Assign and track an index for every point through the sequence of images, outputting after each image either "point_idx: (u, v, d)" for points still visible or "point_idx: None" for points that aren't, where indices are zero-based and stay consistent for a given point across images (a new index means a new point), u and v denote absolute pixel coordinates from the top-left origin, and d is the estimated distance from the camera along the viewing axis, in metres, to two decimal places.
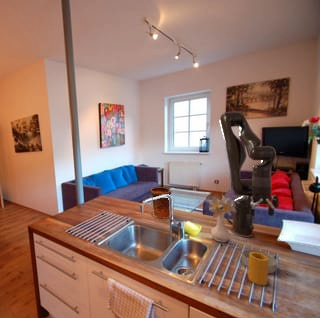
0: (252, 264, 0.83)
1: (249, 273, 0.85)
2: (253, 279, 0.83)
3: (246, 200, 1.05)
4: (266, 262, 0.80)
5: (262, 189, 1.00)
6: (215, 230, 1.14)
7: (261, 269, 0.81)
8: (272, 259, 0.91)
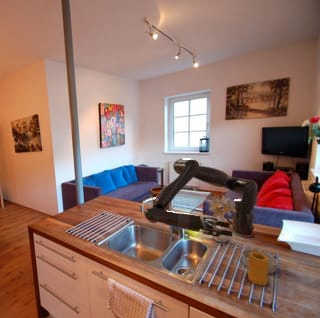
0: (252, 264, 0.83)
1: (249, 273, 0.85)
2: (253, 279, 0.83)
3: None
4: (266, 262, 0.80)
5: None
6: None
7: (261, 269, 0.81)
8: (272, 259, 0.91)
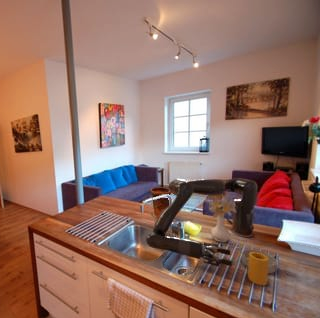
0: (252, 264, 0.83)
1: (249, 273, 0.85)
2: (253, 279, 0.83)
3: None
4: (266, 262, 0.80)
5: None
6: (215, 230, 1.14)
7: (261, 269, 0.81)
8: (272, 259, 0.91)
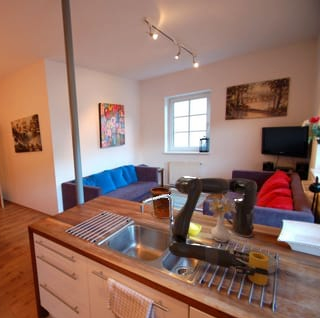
0: (252, 264, 0.83)
1: None
2: (253, 279, 0.83)
3: None
4: (266, 262, 0.80)
5: None
6: (215, 230, 1.14)
7: None
8: (272, 259, 0.91)
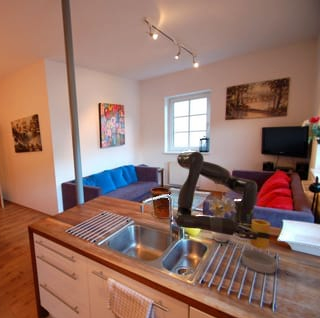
0: (255, 230, 0.88)
1: (252, 239, 0.90)
2: (256, 243, 0.88)
3: None
4: (268, 227, 0.85)
5: None
6: None
7: None
8: (272, 259, 0.91)
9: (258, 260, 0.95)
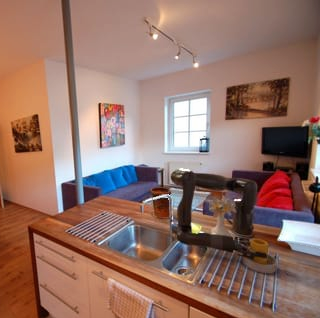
0: (253, 249, 0.91)
1: None
2: None
3: None
4: (266, 247, 0.89)
5: None
6: (215, 230, 1.14)
7: None
8: (272, 259, 0.91)
9: None
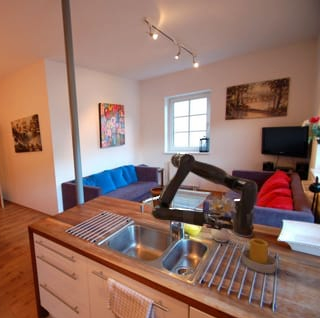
0: (253, 249, 0.91)
1: (250, 257, 0.93)
2: None
3: None
4: (266, 247, 0.89)
5: None
6: (215, 230, 1.14)
7: (261, 253, 0.89)
8: (272, 259, 0.91)
9: None
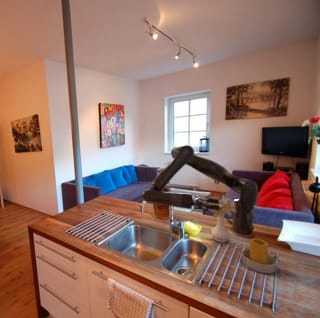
0: (253, 249, 0.91)
1: (250, 257, 0.93)
2: None
3: None
4: (266, 247, 0.89)
5: None
6: (215, 230, 1.14)
7: (261, 253, 0.89)
8: (272, 259, 0.91)
9: None
